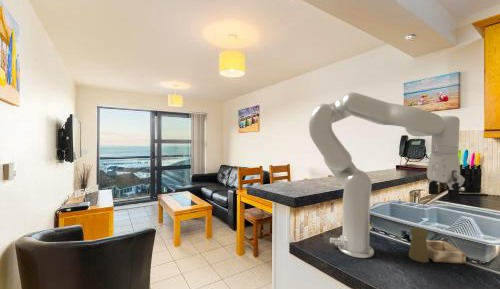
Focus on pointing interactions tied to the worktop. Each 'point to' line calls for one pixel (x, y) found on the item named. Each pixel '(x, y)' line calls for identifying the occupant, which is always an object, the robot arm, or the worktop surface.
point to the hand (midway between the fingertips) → (442, 197)
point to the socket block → (444, 252)
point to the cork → (418, 245)
